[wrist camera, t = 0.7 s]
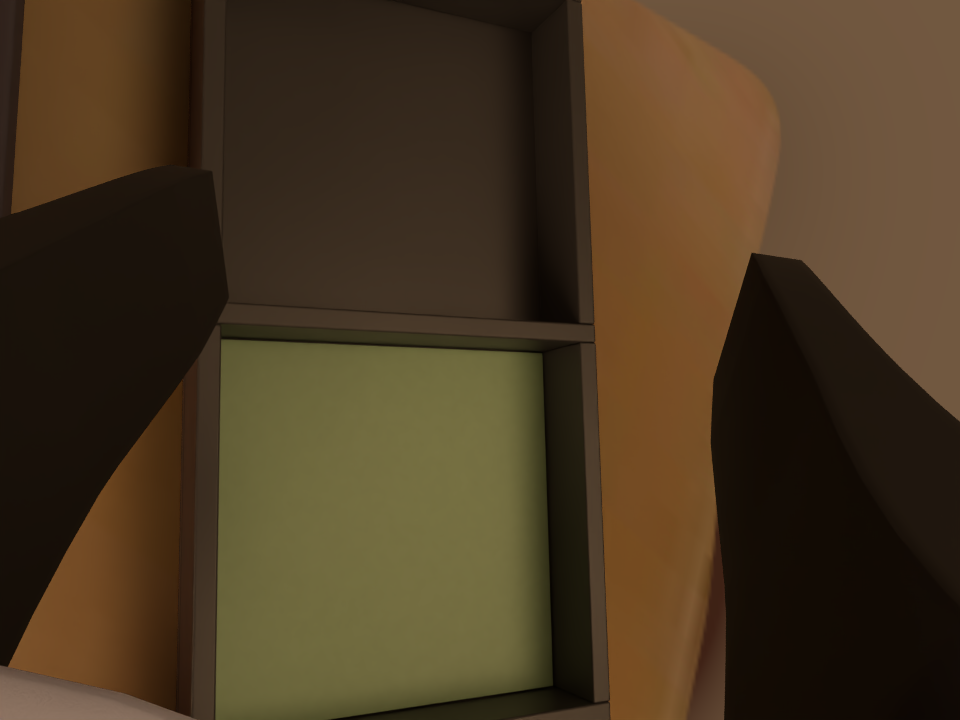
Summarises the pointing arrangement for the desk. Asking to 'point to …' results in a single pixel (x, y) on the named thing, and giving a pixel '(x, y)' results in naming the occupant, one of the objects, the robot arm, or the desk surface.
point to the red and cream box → (9, 93)
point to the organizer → (393, 368)
